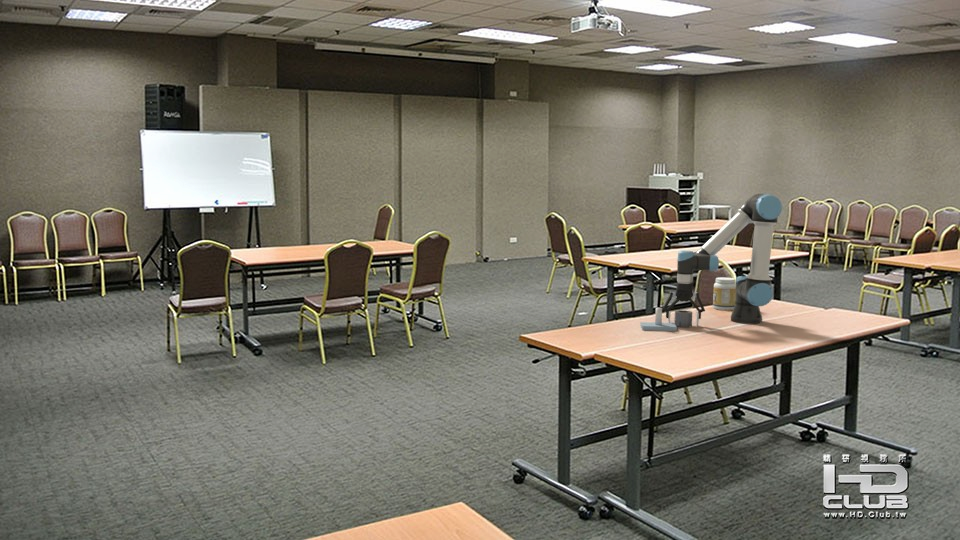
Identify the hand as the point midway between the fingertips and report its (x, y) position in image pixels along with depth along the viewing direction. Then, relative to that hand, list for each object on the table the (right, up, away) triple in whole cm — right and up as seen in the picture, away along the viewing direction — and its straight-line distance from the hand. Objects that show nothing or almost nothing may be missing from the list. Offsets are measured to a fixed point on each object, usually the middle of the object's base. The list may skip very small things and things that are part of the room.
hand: (682, 325), depth 392 cm
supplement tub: (+35, +5, +49) cm, 61 cm away
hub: (0, 0, 0) cm, 0 cm away
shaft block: (-14, -1, -8) cm, 16 cm away
